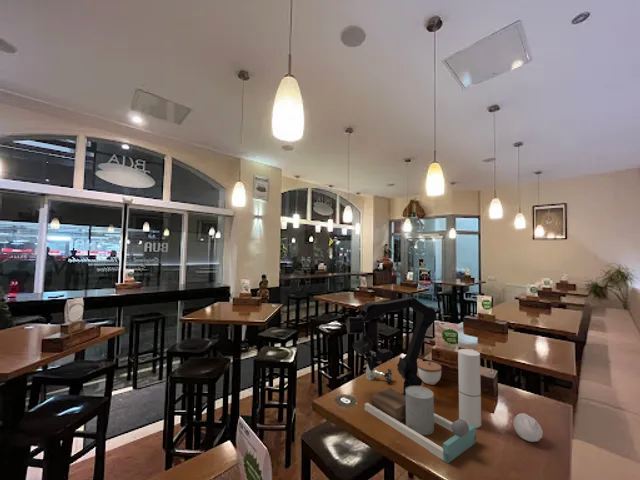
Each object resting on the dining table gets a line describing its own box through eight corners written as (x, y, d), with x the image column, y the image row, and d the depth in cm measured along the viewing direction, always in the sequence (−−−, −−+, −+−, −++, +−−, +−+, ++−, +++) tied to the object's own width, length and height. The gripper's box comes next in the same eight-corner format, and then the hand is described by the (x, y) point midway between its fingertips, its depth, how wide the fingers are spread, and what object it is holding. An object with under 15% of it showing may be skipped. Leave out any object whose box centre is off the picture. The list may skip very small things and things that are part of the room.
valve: (363, 380, 139) (388, 386, 133) (363, 366, 139) (388, 371, 133) (368, 375, 145) (392, 380, 139) (368, 361, 145) (392, 366, 139)
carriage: (390, 400, 119) (390, 388, 119) (414, 413, 109) (414, 400, 110) (371, 408, 113) (371, 395, 113) (395, 423, 103) (395, 409, 103)
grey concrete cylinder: (401, 420, 106) (401, 386, 106) (426, 419, 106) (426, 385, 107) (412, 436, 96) (411, 399, 97) (439, 435, 97) (438, 398, 97)
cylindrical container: (479, 418, 107) (477, 350, 108) (483, 429, 100) (481, 356, 101) (458, 414, 109) (456, 348, 110) (460, 425, 103) (459, 354, 104)
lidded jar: (413, 377, 142) (413, 358, 143) (434, 376, 143) (434, 357, 144) (424, 387, 132) (423, 366, 132) (446, 386, 133) (445, 365, 133)
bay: (393, 398, 122) (392, 376, 122) (480, 444, 92) (479, 415, 93) (364, 410, 112) (364, 386, 112) (452, 466, 83) (451, 434, 83)
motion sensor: (537, 450, 90) (536, 425, 90) (509, 437, 96) (509, 414, 96) (545, 440, 94) (545, 416, 95) (519, 429, 101) (518, 406, 101)
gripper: (342, 330, 125) (342, 367, 124) (373, 341, 109) (374, 383, 109) (361, 327, 131) (361, 361, 130) (393, 336, 116) (393, 376, 115)
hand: (371, 370), depth 121 cm, fingers closed
